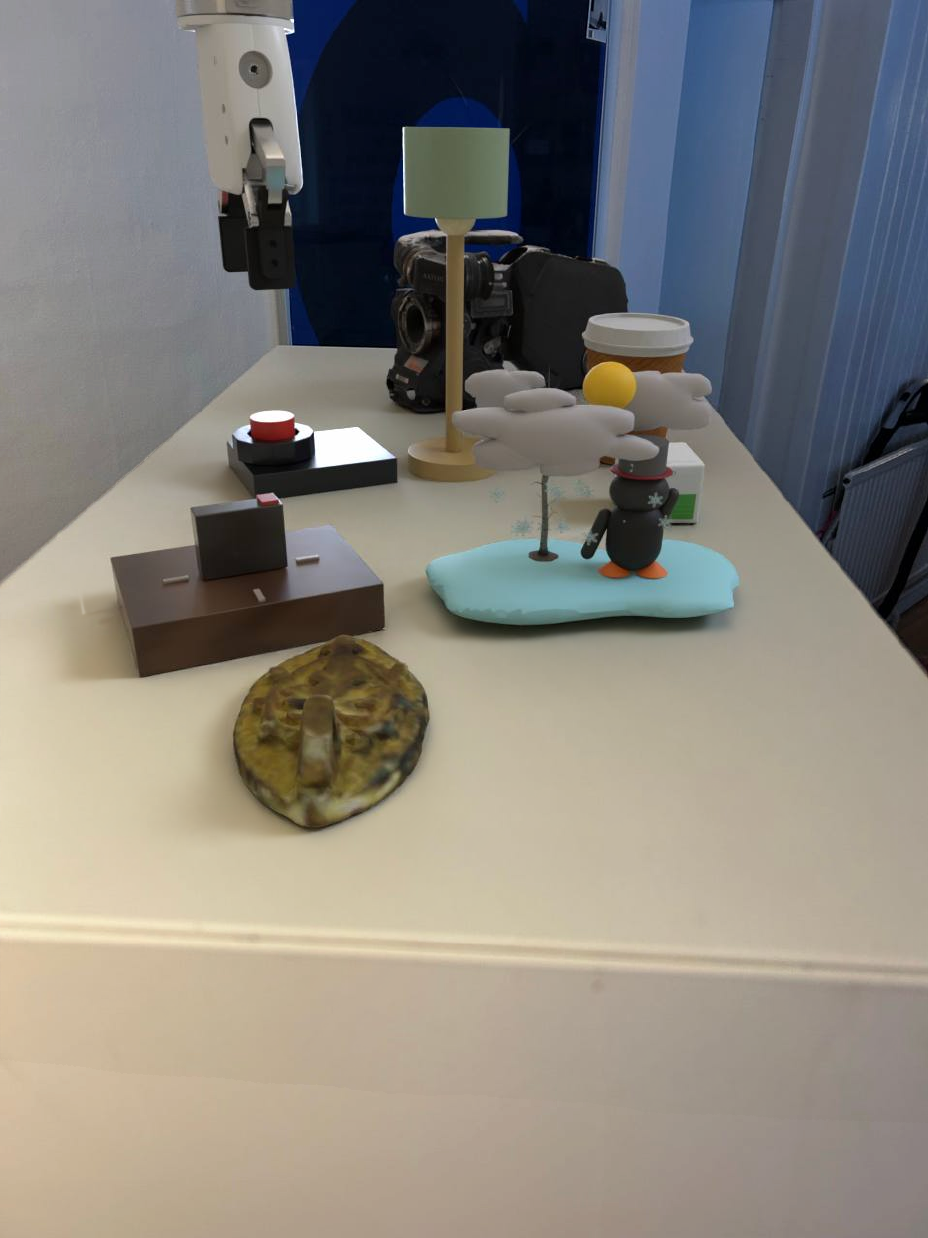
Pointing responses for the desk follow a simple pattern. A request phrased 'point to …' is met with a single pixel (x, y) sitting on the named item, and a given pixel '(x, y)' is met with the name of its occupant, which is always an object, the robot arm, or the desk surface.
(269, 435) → the lamp switch
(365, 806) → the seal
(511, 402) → the penguin figurine
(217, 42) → the robot arm
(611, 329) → the disposable coffee cup
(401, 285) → the movie camera
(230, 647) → the dimmer panel
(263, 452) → the switch block
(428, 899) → the desk surface
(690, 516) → the small box
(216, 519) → the dark grey block
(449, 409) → the desk lamp
